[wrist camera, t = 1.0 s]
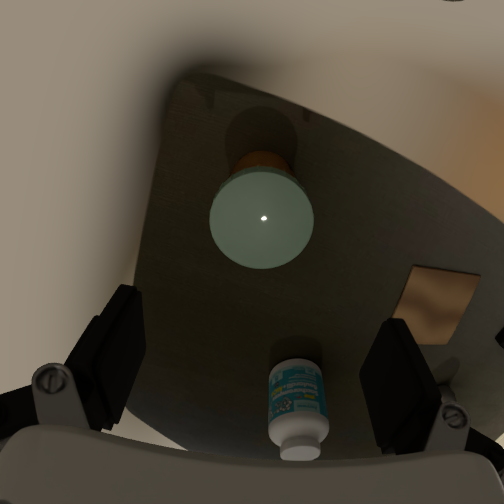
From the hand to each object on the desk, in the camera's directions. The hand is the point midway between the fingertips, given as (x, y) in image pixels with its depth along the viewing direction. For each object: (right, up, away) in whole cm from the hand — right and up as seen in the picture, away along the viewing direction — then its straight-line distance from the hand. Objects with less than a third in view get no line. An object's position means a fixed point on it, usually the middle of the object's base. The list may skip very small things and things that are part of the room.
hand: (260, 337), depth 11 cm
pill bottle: (+6, -14, +32) cm, 35 cm away
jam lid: (0, +5, +10) cm, 11 cm away
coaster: (+24, -5, +26) cm, 36 cm away
